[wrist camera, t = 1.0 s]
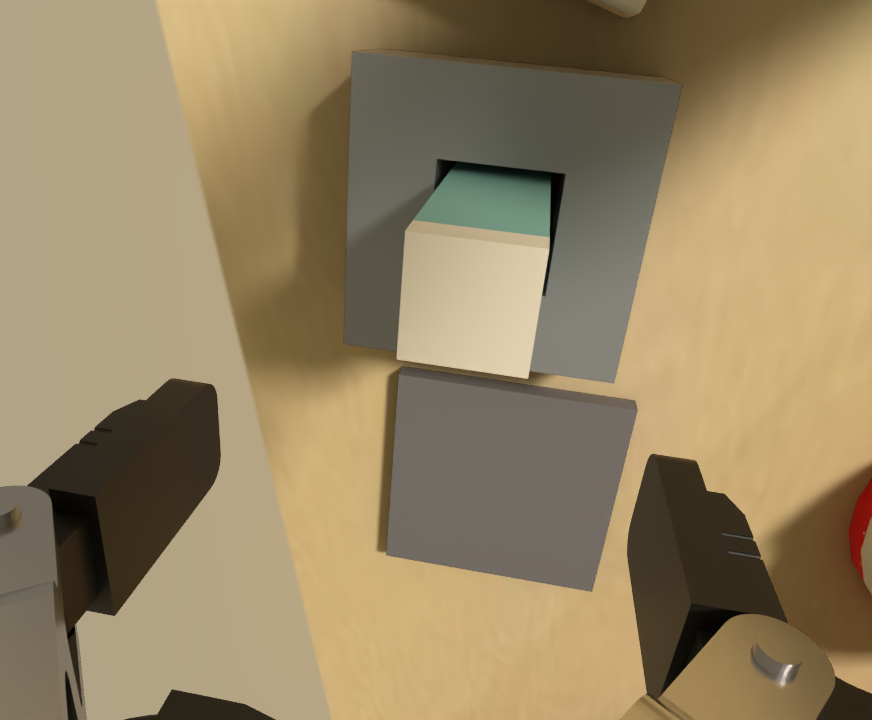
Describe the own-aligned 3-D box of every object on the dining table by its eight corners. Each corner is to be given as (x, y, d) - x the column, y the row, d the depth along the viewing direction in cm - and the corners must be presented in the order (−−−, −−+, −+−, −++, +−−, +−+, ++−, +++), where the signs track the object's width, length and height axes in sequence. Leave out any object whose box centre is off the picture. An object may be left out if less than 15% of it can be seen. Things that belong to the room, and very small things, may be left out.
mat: (635, 400, 35) (637, 410, 34) (591, 579, 40) (592, 591, 39) (402, 366, 36) (398, 374, 35) (389, 544, 41) (386, 555, 40)
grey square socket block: (663, 77, 28) (682, 84, 24) (607, 341, 33) (614, 383, 29) (379, 48, 29) (351, 51, 25) (367, 307, 35) (343, 343, 31)
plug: (551, 165, 30) (549, 249, 19) (537, 251, 32) (528, 378, 20) (462, 154, 31) (405, 230, 19) (453, 241, 33) (396, 359, 21)
